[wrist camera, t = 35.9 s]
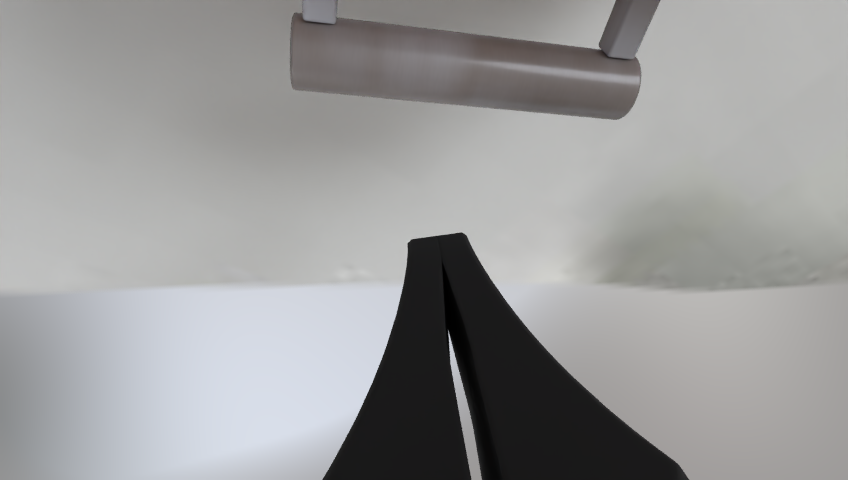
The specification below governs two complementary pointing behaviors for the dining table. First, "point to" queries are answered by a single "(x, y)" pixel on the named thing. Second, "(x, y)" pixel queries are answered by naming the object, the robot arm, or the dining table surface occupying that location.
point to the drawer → (470, 64)
